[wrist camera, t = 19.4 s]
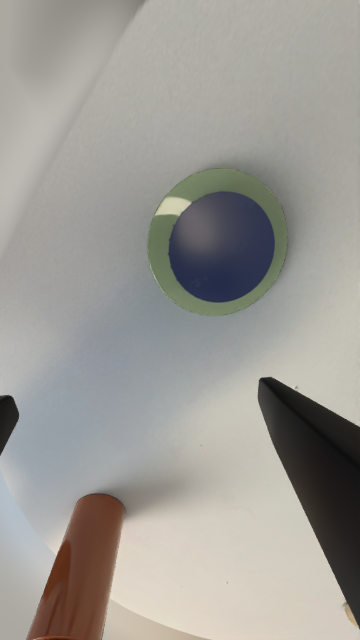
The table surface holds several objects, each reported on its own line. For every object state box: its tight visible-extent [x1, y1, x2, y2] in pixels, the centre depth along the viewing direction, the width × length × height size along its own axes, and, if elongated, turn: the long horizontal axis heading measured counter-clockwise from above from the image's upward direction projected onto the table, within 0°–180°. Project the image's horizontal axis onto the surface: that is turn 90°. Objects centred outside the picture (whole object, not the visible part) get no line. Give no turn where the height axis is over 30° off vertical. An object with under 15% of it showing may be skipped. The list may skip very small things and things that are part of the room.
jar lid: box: [168, 191, 275, 303], centre depth 15 cm, size 7×7×1 cm
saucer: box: [147, 168, 288, 316], centre depth 16 cm, size 10×10×1 cm
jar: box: [26, 494, 125, 640], centre depth 22 cm, size 6×6×11 cm
